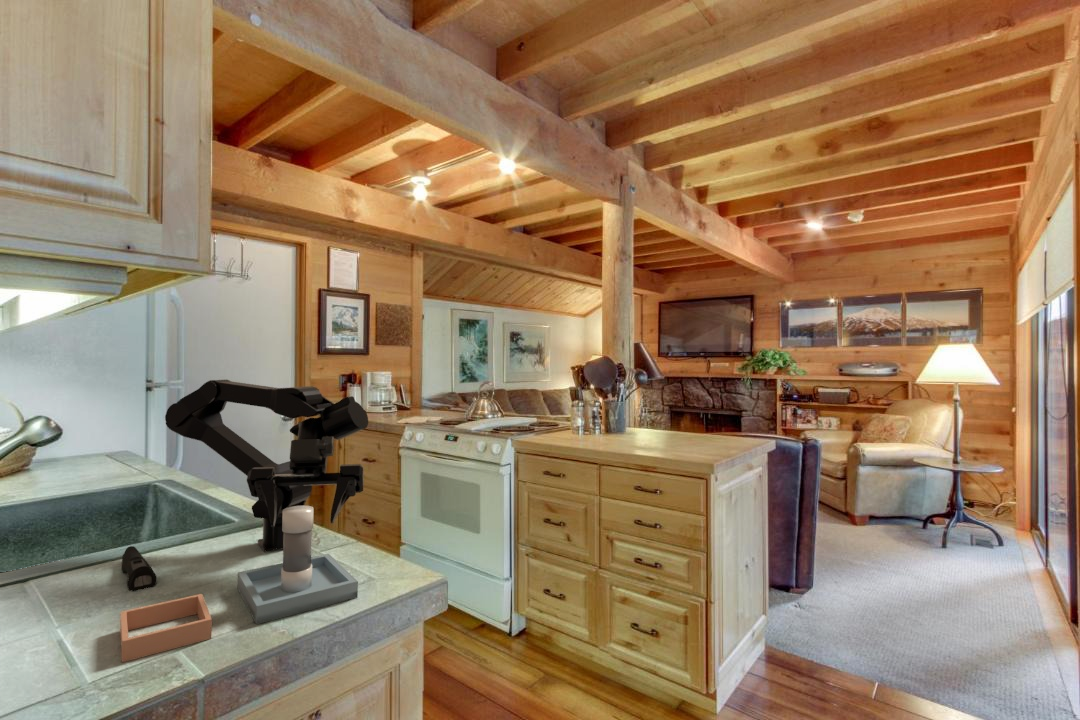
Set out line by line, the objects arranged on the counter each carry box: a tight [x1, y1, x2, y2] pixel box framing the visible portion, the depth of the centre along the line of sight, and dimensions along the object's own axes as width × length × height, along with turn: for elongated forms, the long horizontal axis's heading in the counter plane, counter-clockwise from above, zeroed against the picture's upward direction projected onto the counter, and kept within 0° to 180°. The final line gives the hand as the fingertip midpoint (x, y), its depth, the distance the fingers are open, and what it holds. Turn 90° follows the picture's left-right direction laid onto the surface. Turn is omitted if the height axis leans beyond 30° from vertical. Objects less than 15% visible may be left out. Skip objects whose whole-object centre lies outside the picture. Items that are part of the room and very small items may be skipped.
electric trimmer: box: [121, 545, 158, 592], centre depth 89 cm, size 4×16×3 cm, turn 43°
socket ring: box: [120, 593, 213, 663], centre depth 71 cm, size 9×9×2 cm
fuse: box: [281, 505, 314, 593], centre depth 84 cm, size 4×4×12 cm
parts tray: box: [236, 553, 359, 625], centre depth 84 cm, size 14×14×2 cm
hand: (302, 524), depth 90 cm, fingers open, 9 cm apart
